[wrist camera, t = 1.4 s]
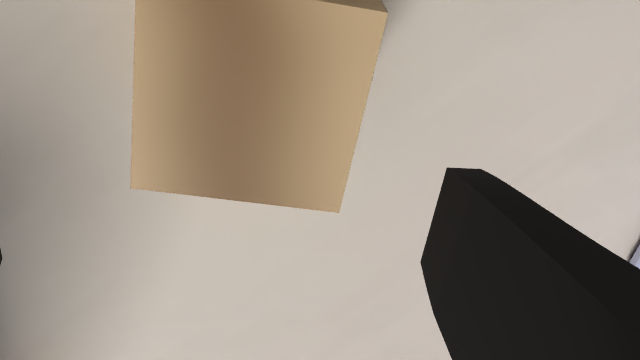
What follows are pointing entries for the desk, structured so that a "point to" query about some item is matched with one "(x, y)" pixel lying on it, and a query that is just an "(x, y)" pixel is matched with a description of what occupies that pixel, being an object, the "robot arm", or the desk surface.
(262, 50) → the oak cube
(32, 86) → the desk surface
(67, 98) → the desk surface
